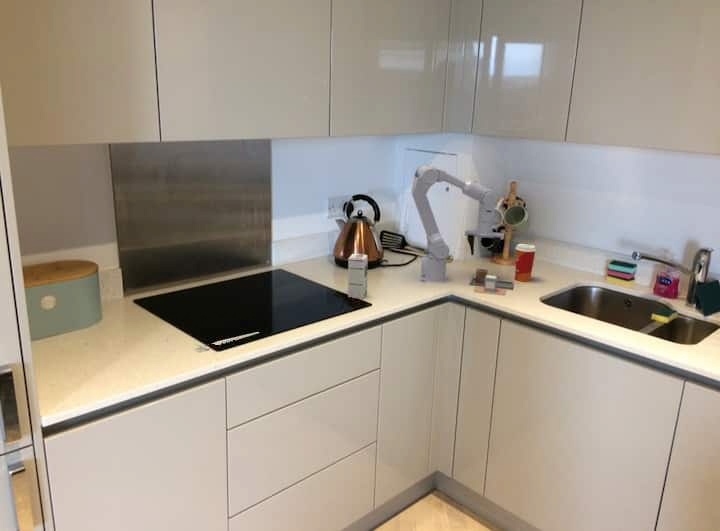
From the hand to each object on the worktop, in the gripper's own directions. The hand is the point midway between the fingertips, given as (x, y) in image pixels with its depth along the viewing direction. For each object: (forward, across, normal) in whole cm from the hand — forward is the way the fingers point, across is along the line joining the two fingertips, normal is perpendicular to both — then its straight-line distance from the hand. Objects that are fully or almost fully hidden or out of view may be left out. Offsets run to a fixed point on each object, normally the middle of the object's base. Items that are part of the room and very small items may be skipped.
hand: (482, 255), depth 228 cm
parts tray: (+9, +5, -7) cm, 13 cm away
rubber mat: (+9, +5, -15) cm, 18 cm away
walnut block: (+9, +1, -7) cm, 11 cm away
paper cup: (+10, +16, +4) cm, 19 cm away
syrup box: (+10, -39, -37) cm, 54 cm away
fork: (+10, -61, -87) cm, 107 cm away
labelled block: (+9, +5, -15) cm, 18 cm away
